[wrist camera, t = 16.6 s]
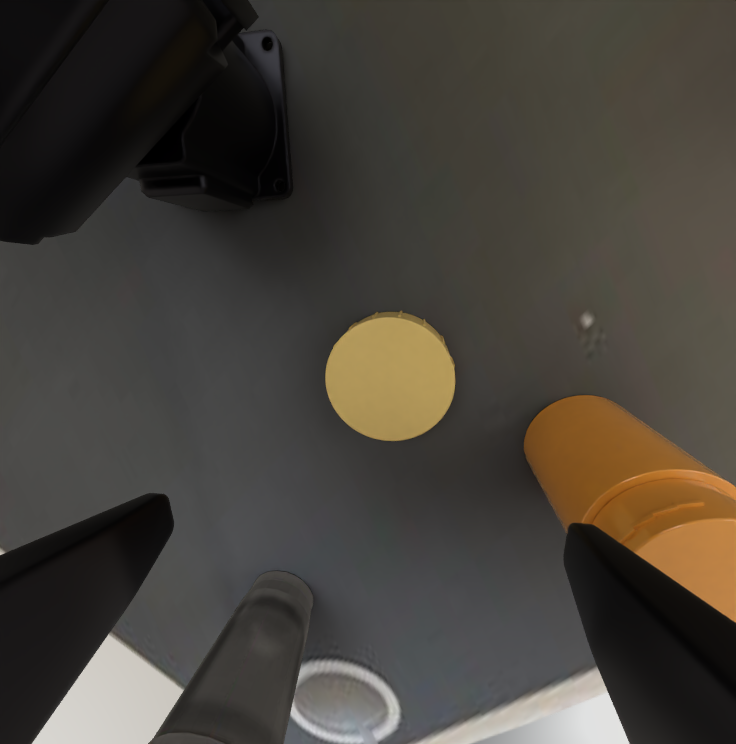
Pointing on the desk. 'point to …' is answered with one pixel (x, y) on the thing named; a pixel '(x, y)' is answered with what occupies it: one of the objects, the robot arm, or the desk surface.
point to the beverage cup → (247, 670)
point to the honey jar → (638, 492)
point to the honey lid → (390, 376)
